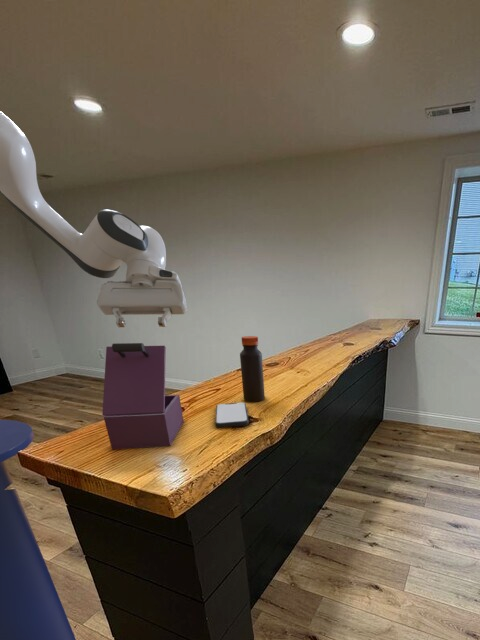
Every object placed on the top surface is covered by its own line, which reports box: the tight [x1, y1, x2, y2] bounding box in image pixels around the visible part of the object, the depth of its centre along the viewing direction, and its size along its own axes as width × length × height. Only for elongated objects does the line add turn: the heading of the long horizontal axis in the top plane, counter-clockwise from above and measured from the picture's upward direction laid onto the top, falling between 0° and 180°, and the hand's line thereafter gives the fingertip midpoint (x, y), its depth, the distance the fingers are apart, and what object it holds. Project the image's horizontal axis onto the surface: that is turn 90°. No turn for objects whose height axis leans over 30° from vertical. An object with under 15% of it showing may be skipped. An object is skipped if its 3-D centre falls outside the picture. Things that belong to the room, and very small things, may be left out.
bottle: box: [239, 335, 266, 403], centre depth 110 cm, size 7×7×20 cm
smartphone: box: [214, 402, 250, 429], centre depth 99 cm, size 9×2×16 cm
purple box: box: [103, 394, 185, 450], centre depth 85 cm, size 16×13×8 cm
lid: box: [101, 342, 167, 417], centre depth 76 cm, size 16×13×6 cm
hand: (141, 325), depth 84 cm, fingers open, 8 cm apart
